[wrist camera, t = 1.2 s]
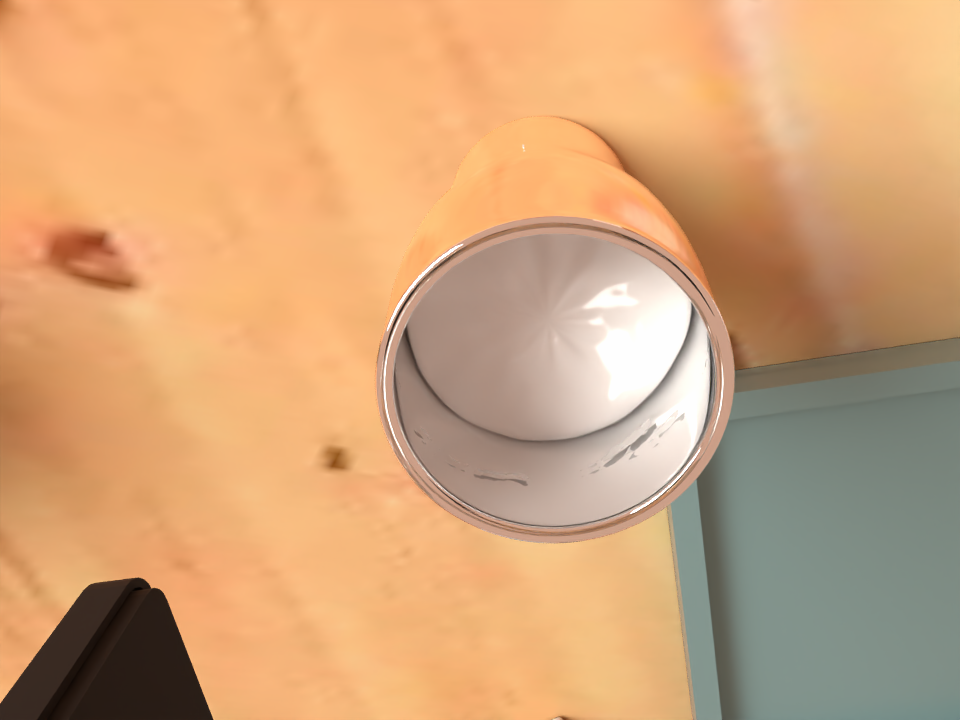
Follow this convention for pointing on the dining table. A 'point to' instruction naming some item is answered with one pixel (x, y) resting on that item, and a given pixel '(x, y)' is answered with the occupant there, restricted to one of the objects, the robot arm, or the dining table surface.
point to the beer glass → (552, 344)
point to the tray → (828, 543)
